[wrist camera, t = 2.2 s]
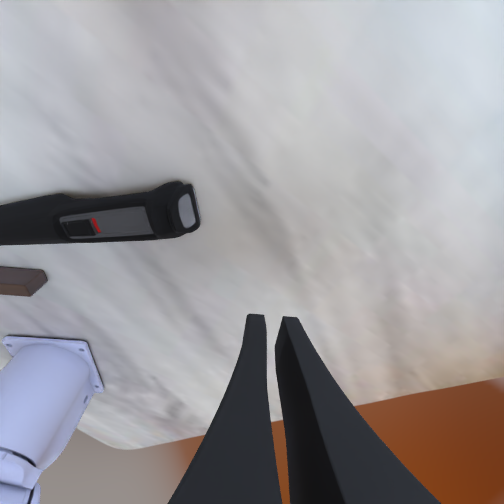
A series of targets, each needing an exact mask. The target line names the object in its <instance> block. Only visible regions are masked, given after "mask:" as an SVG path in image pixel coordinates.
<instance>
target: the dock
mask: <svg viewBox="0 0 504 504" xmlns="http://www.w3.org/2000/svg"><path fill="white" fill-rule="evenodd" d="M47 281H48V280H47V278H46V276H45V273H44V271H43V270H32V269H20V268H8V267H0V294H2V295H15V296H28V297H30V296H32V295H33V294H34V293H35V292H36V291H37V290H39V289H40V288H41V287H42V286H43V285H44V284H45V283H46V282H47Z"/></svg>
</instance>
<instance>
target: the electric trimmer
mask: <svg viewBox="0 0 504 504" xmlns="http://www.w3.org/2000/svg"><path fill="white" fill-rule="evenodd" d="M200 218H201V217H200V215H199V209H198V205H197V199H196V195H195V191H194V189H193V187H192V185H191V184H185V185H183V183H182V182H179V181H177V182H170V183H166V184H164V185H162V186H160V187H158V188H156V189H154V190H152V191H149V192H143V193H136V194H130V195H122V196H114V197H105V198H93V199H73V198H71V197H69V196H66V195H64V194H54V195H48V196H43V197H38V198H33V199H29V200H24V201H20V202H15V203H10V204H6V205H1V206H0V246H1V245H30V244H61V243H96V242H121V241H144V240H158V239H168V238H176V237H180V236H182V235H184V234H186V233H191V232H193V231H195V230H197V229H198V228H199V226H200V220H201V219H200Z"/></svg>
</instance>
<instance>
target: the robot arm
mask: <svg viewBox="0 0 504 504" xmlns="http://www.w3.org/2000/svg"><path fill="white" fill-rule="evenodd" d="M2 342H3V344H4V345H5V347H6V348H7V350H8V351H9V353H10V354H11V356H12V357H13V358H12V359H11V360H10V362H9V363H8V364H7V365H6V366H5V367H4V368H3V369H2V370H1V372H0V504H40V493H41V487H40V484H38V483H37V480H38V478H39V476H40V475H41V473H42V471H44V470H45V469H46V468H48V467H49V466H50V465H51V464H52V463H53V462H54V461H55V460H56V459H57V458H58V457H59V455H60V454H61V453H62V452H63V450H64V449H65V447H66V445H67V443H68V442H69V440H70V438H71V436H72V434H73V432H74V430H75V428H76V426H77V424H78V422H79V421H80V419H81V417H82V415H83V413H84V411H85V409H86V407H87V405H88V403H89V401H90V399H91V398H92V396H93V394H94V393H102V392H103V390H104V387H103V385H102V382H101V379H100V377H99V374H98V371H97V369H96V366H95V363H94V361H93V358H92V355H91V353H90V350H89V347H88V345H87V343H86V342H84V341H77V340H61V339H46V338H31V337H15V336H6V337H4V338H3V339H2ZM275 364H276V375H277V382H278V388H279V395H280V402H281V408H282V415H283V421H284V428H285V436H286V447H287V461H288V476H289V493H290V504H441V503H440V502H439V501H438V500H437V499H436V498H435V497H434V496H433V495H432V494H431V493H430V492H429V491H428V490H427V489H426V488H425V487H424V486H423V485H422V484H421V483H420V482H419V481H418V480H417V479H416V477H414V476H413V474H412V473H411V472H410V471H409V470H408V469H407V468H406V467H405V466H404V465H403V464H402V463H401V462H400V460H399V459H398V458H397V457H396V456H395V455H394V454H393V453H392V451H391V450H390V449H389V448H388V447H387V446H386V445H385V443H384V442H383V441H382V440H381V439H380V438H379V437H378V436H377V434H376V433H375V432H374V431H373V430H372V428H371V427H370V426H369V425H368V424H367V422H366V421H365V420H364V419H363V418H362V416H361V415H360V414H359V412H358V411H357V410H356V409H355V407H354V406H353V405H352V403H351V402H350V401H349V399H348V398H347V397H346V395H345V394H344V392H343V391H342V390H341V388H340V387H339V385H338V384H337V383H336V381H335V380H334V378H333V377H332V375H331V374H330V372H329V371H328V369H327V368H326V366H325V364H324V363H323V361H322V360H321V358H320V356H319V355H318V353H317V351H316V350H315V348H314V346H313V345H312V343H311V341H310V339H309V338H308V336H307V334H306V332H305V330H304V329H303V327H302V325H301V323H300V321H299V319H298V318H297V317H286V316H283V318H282V322H281V326H280V329H279V333H278V336H277V340H276V344H275ZM168 504H282V499H281V493H280V486H279V480H278V472H277V466H276V459H275V452H274V443H273V436H272V428H271V420H270V411H269V402H268V393H267V330H266V323H265V318H264V315H260V314H249V315H247V318H246V324H245V331H244V337H243V344H242V348H241V351H240V354H239V358H238V361H237V363H236V366H235V369H234V372H233V374H232V377H231V380H230V382H229V385H228V387H227V390H226V392H225V394H224V397H223V399H222V401H221V403H220V406H219V408H218V410H217V412H216V414H215V416H214V418H213V420H212V423H211V425H210V427H209V429H208V431H207V433H206V435H205V437H204V439H203V441H202V443H201V445H200V446H199V448H198V450H197V452H196V454H195V456H194V458H193V460H192V461H191V463H190V465H189V467H188V469H187V471H186V473H185V474H184V476H183V478H182V480H181V482H180V483H179V485H178V487H177V489H176V490H175V492H174V494H173V495H172V497H171V499H170V501H169V502H168Z"/></svg>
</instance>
